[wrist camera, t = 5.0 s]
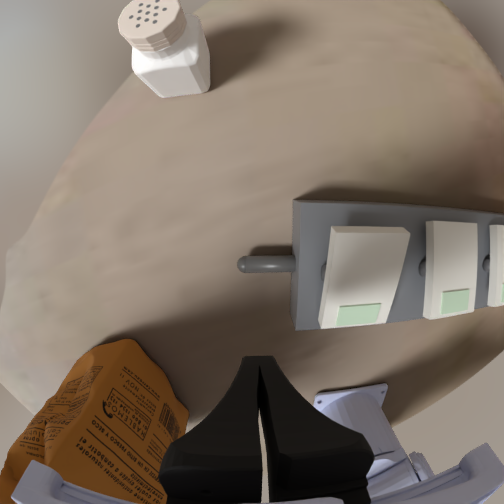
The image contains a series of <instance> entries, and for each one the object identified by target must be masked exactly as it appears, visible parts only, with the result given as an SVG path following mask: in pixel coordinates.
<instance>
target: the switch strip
mask: <svg viewBox="0 0 504 504" xmlns="http://www.w3.org/2000/svg"><path fill="white" fill-rule="evenodd" d="M426 221H448V222H464V223H477V234H478V259H477V282H476V295H475V305H474V309H478V308H483V307H488V305H487V303H488V292H489V276H490V271H488V272H486V271H484V270H483V267H482V264H483V261H484V260H485V259H490V226H489V225H504V214H503V213H495V212H487V211H479V210H470V209H460V208H450V207H438V206H426V205H413V204H398V203H381V202H361V201H333V200H293V235H292V255H276V256H243V257H241V258H240V259H239V260H238V263H237V266H238V268H239V270H240V271H241V272H244V273H263V272H292V273H291V299H290V315H291V318H292V321H293V324H294V327H295V330H296V331H298V330H316V329H321V327H320V324H319V321H318V317H319V311H320V305H321V299H322V292H323V286H324V282H323V281H322V279H321V267H322V265H327V257H328V250H329V241H330V233H331V226H370V227H403V228H405V229H406V230H407V231H408V232H409V233H410V238H409V242H408V247H407V251H406V255H405V259H404V263H403V267H402V271H401V275H400V278H399V282H398V285H397V289H396V292H395V296H394V299H393V302H392V305H391V308H390V312H389V315H388V318H387V321H386V323H391V322H399V321H407V320H414V319H421V318H425V317H423V309H424V296H425V280H426V277H421V276H420V274H419V271H418V268H419V264H420V263H421V262H426ZM381 324H383V323H381ZM372 325H374V324H372ZM362 326H365V325H362ZM351 327H354V326H351ZM339 328H343V327H339ZM326 329H330V328H326Z"/></svg>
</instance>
